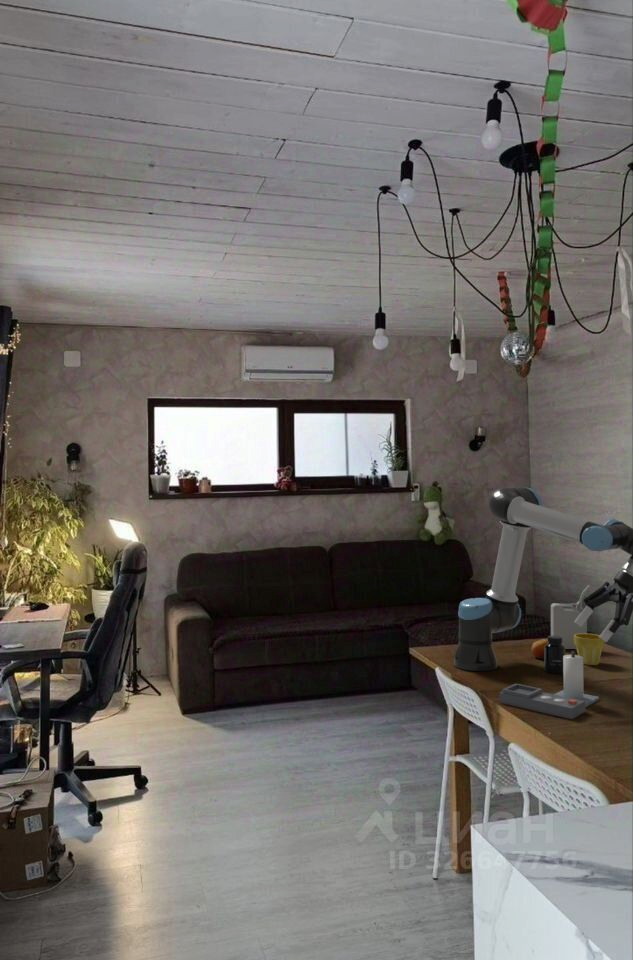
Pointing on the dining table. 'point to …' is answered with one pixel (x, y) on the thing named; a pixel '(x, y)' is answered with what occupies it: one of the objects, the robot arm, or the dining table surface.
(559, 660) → the supplement bottle
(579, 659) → the paper towel holder
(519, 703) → the grey control panel
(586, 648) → the plant pot
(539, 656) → the fruit
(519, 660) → the dining table surface
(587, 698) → the mat
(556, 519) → the robot arm
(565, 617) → the gas can
